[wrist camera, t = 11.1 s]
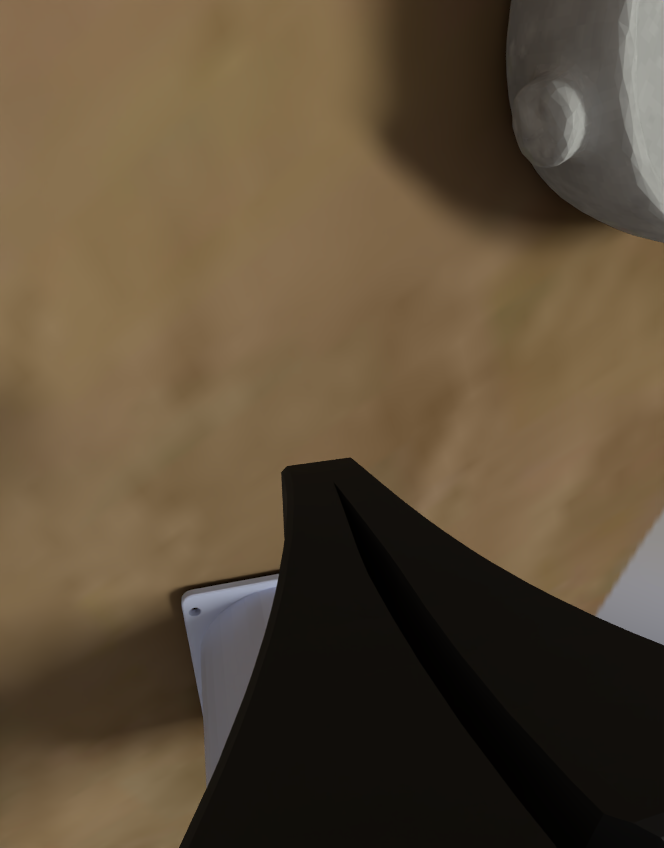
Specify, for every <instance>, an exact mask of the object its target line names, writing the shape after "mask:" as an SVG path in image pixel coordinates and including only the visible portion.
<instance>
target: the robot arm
mask: <svg viewBox="0 0 664 848" xmlns="http://www.w3.org/2000/svg"><path fill="white" fill-rule="evenodd" d="M281 476H282V497H283V517H284V538H285V541H284V548H283V554H282V560H281V565H280V571H279V574H275V575H269V576H264V577H258V578H253V579H247V580H242V581H236V582H231V583H225V584H220V585H214V586H209V587H203V588H198V589H193V590H189V591H187V592H185V593H184V594H183V596H182V600H181V605H182V611H183V616H184V621H185V626H186V631H187V636H188V641H189V647H190V652H191V657H192V662H193V667H194V672H195V677H196V683H197V688H198V693H199V698H200V703H201V708H202V714H203V722H204V744H205V766H206V788H207V789H206V791H205V793H204V795H203V797H202V799H201V802H200V804H199V806H198V808H197V810H196V812H195V814H194V817H193V819H192V821H191V823H190V825H189V827H188V830H187V832H186V834H185V836H184V838H183V840H182V843H181V845H180V847H179V848H664V645H662V644H659V643H657V642H654V641H652V640H649V639H647V638H644V637H642V636H639V635H637V634H634V633H632V632H630V631H627V630H624V629H623V628H620V627H618V626H616V625H613V624H611V623H609V622H607V621H604V620H602V619H599V618H598V617H595V616H593V615H591V614H589V613H587V612H585V611H583V610H581V609H579V608H577V607H575V606H572V605H570V604H568V603H566V602H564V601H562V600H560V599H558V598H556V597H554V596H552V595H550V594H548V593H546V592H544V591H542V590H540V589H538V588H536V587H534V586H533V585H531V584H529V583H527V582H525V581H523V580H522V579H520V578H518V577H516V576H515V575H513V574H511V573H509V572H508V571H506V570H504V569H502V568H501V567H499V566H497V565H495V564H494V563H492V562H490V561H489V560H487V559H485V558H484V557H482V556H481V555H479V554H477V553H476V552H474V551H473V550H471V549H470V548H468V547H467V546H465V545H464V544H462V543H461V542H459V541H458V540H456V539H455V538H453V537H452V536H450V535H449V534H447V533H446V532H444V531H443V530H441V529H440V528H439V527H437V526H436V525H435V524H433V523H432V522H430V521H429V520H428V519H426V518H425V517H424V516H422V515H421V514H420V513H418V512H417V511H416V510H414V509H413V508H412V507H410V506H409V505H408V504H407V503H405V502H404V501H403V500H401V499H400V498H399V497H398V496H397V495H395V494H394V493H393V492H392V491H390V490H389V489H388V488H387V487H386V486H384V485H383V484H382V483H381V482H379V481H378V480H377V479H376V478H375V477H373V476H372V475H371V474H370V473H369V472H368V471H366V470H365V469H364V468H363V467H362V466H360V465H359V464H358V463H357V462H355V461H354V460H353V459H352V458H351V457H350V458H343V459H336V460H329V461H321V462H314V463H307V464H299V465H292V466H287V467H286V468H285V469H284V470H283V471H282V472H281ZM192 608H197V609H192Z"/></svg>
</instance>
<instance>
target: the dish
mask: <svg viewBox="0 0 664 848" xmlns="http://www.w3.org/2000/svg"><path fill="white" fill-rule="evenodd" d="M506 68H507V84H508V94H509V102H510V107H511V112H512V117H513V120H512V127H513V130H514V134H515V137H516V140H517V143H518V146H519V148H520V150H521V152H522V154H523V155H524V156H525V157H526V158H527V159H528V160H529V161H530V162H531V163H532V165H533V167H534V168H535V170H536V172H537V173H538V174H539V175H540V176H541V178H542V179H543V180H544V181H545V182H546V183H547V184H548V186H549V187H550V188H551V189H552V190H553V191H555V192H556V193H557V194H558V195H559V196H560V197H561V198H562V199H564V200H565V201H567V202H568V203H570V204H571V205H572V206H574V207H575V208H577V209H578V210H580V211H581V212H583V213H585V214H587V215H589V216H591V217H593V218H594V219H596V220H598V221H601V222H603V223H605V224H607V225H609V226H611V227H613V228H616V229H618V230H620V231H623V232H626V233H629V234H632V235H634V236H638V237H642V238H646V239H650V240H654V241H658V242H663V243H664V0H511V5H510V14H509V23H508V32H507V46H506Z"/></svg>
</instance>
